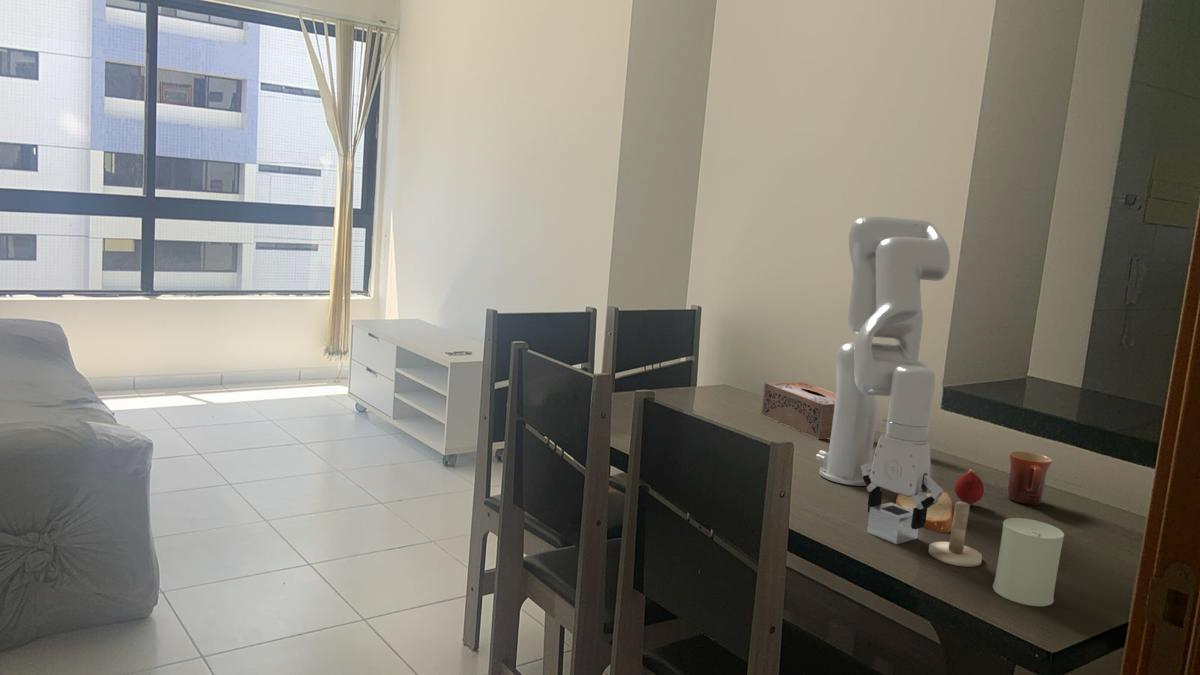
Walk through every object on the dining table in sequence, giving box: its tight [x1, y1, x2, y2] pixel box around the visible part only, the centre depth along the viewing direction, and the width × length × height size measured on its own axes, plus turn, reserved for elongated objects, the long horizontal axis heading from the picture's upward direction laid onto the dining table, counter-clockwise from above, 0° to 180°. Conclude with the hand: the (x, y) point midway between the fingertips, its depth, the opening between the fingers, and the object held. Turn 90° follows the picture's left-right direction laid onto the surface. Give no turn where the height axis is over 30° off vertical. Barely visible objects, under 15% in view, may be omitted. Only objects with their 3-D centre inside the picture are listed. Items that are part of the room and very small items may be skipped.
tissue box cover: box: [761, 381, 836, 439], centre depth 252 cm, size 26×14×10 cm, turn 26°
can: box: [992, 517, 1065, 607], centre depth 147 cm, size 9×9×12 cm
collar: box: [866, 502, 920, 545], centre depth 170 cm, size 7×7×5 cm
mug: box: [1006, 450, 1053, 506], centre depth 197 cm, size 12×9×10 cm
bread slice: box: [895, 491, 955, 533], centre depth 186 cm, size 18×18×4 cm
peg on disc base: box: [928, 501, 983, 568], centre depth 162 cm, size 9×9×10 cm
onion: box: [954, 468, 985, 506], centre depth 192 cm, size 6×6×8 cm
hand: (895, 519), depth 170 cm, fingers open, 9 cm apart
